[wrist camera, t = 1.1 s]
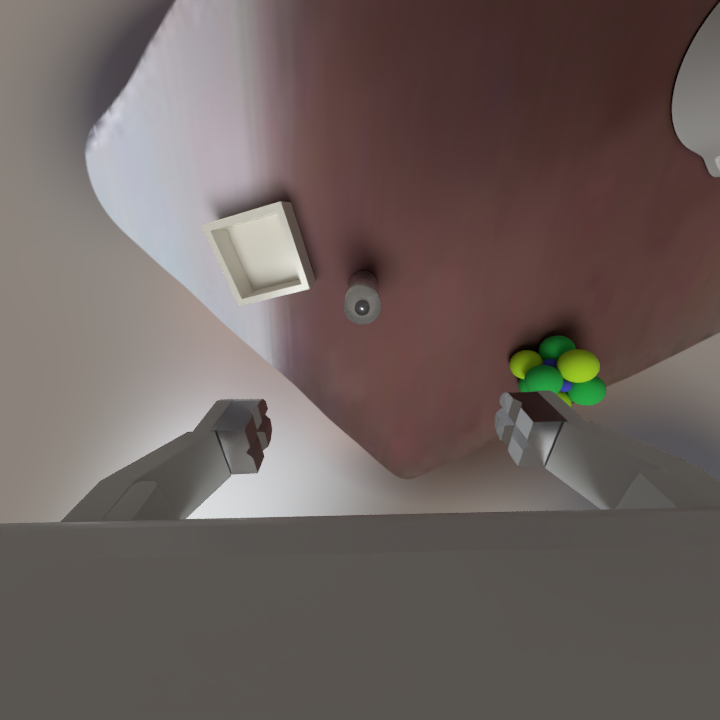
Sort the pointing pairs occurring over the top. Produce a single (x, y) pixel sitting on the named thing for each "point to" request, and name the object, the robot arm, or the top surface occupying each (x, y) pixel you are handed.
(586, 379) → the molecule model
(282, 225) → the cream square tray
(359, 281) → the cylinder
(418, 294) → the top surface
